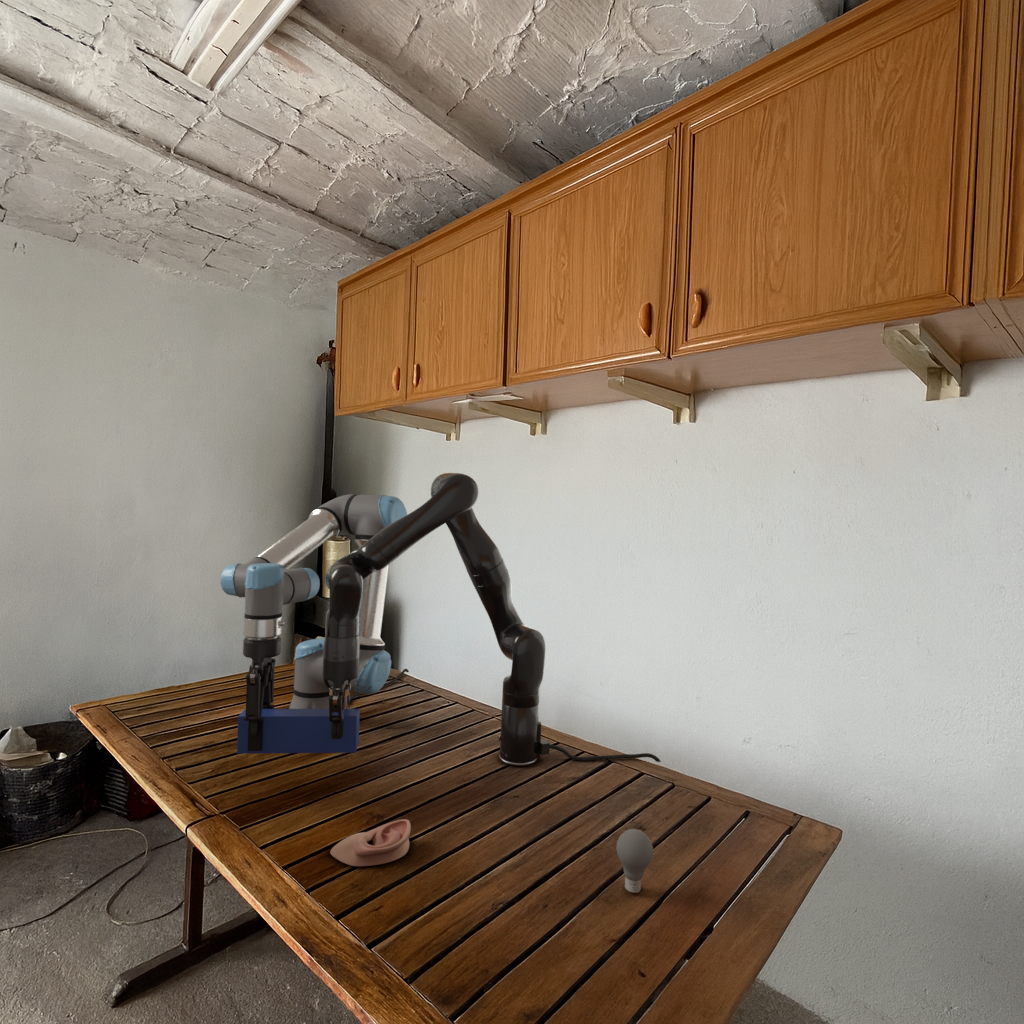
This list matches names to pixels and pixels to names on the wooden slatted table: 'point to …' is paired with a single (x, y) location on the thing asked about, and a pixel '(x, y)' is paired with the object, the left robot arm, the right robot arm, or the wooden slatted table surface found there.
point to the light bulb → (634, 857)
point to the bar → (301, 732)
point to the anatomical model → (374, 845)
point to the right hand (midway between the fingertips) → (338, 733)
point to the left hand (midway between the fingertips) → (258, 744)
